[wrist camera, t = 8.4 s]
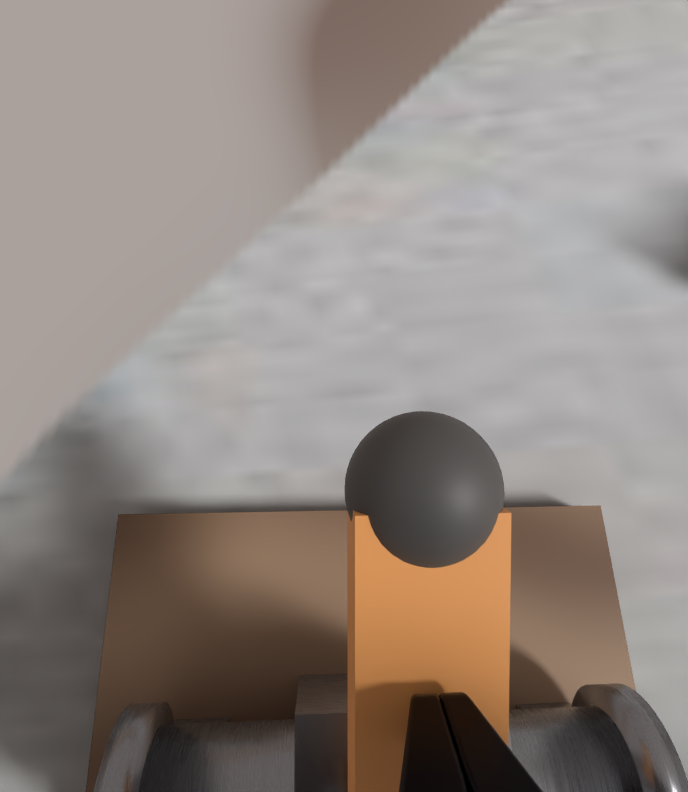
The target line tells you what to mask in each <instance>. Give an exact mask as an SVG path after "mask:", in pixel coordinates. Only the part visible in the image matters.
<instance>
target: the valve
mask: <svg viewBox="0 0 688 792" xmlns="http://www.w3.org/2000/svg"><path fill="white" fill-rule="evenodd" d="M509 748H510V750H511V751H512V752H513V754H514V755H515V756H516V757H517V759H518V760H519V761H520V763H521V764H522V765H523V766H524V768H525V769H526V770H527V772H528V773H529V774H530V775H531V777H532V778H533V779H534V781H535V782H536V783H537V784H538V786H539V787H540V788H541V789H542V791H543V792H688V781H687V778H686V775H685V772H684V769H683V766H682V764H681V761H680V759H679V756H678V754H677V752H676V749H675V747H674V745H673V743H672V741H671V739H670V737H669V735H668V733H667V731H666V729H665V728H664V726H663V724H662V722H661V721H660V719H659V718H658V716H657V715H656V713H655V712H654V710H653V709H652V708H651V707H650V705H649V704H648V703H647V702H646V701H645V700H644V699H643V697H642V696H641V695H639V694H638V693H637V692H636V691H635V690H633V689H632V688H630V687H629V686H626V685H624V684H619V683H612V684H589V685H584V686H582V687H580V688H579V689H578V691H577V692H576V694H575V696H574V698H573V702H572V704H570V703H568V702H557V703H534V704H515V709H514V710H509ZM94 792H348V673H343V674H317V675H300V676H299V684H298V692H297V700H296V708H295V719H288V720H266V721H243V722H230V717H213V718H191V719H174V718H173V713H172V710H171V707H170V705H169V704H168V703H167V702H154V703H132V704H130V705H128V706H127V707H126V708H125V709H124V710H123V711H122V713H121V714H120V716H119V718H118V719H117V721H116V723H115V725H114V727H113V730H112V732H111V734H110V737H109V739H108V742H107V745H106V748H105V751H104V754H103V757H102V760H101V764H100V768H99V771H98V775H97V779H96V783H95V787H94Z"/></svg>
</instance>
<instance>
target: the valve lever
mask: <svg viewBox="0 0 688 792" xmlns="http://www.w3.org/2000/svg"><path fill="white" fill-rule="evenodd" d="M345 501H346V506H347V636H348V792H399V786H400V778H401V771H402V763H403V755H404V747H405V740H406V732H407V724H408V716H409V709H410V701H411V697H412V695H413V694H424V693H434V694H436V695H438V696H439V695H440V694H441V693H448V692H463V693H465V694H467V695H468V696H469V697H470V698H471V700H472V701H473V702H474V704H475V705H476V706H477V707H478V709H479V710H480V711H481V712H482V714H483V715H484V716H485V718H486V719H487V720H488V721H489V723H490V724H491V725H492V727H493V728H494V729H495V730H496V732H497V733H498V734H499V736H500V737H501V738H502V739H503V741H504V742H505V743H506V745H507V746H508V747H509V668H510V590H511V512H510V511H508V510H507V509H505V508H504V507H503V506H504V483H503V478H502V472H501V469H500V466H499V463H498V461H497V459H496V457H495V455H494V453H493V451H492V450H491V448H490V447H489V445H488V444H487V443H486V442H485V440H484V439H483V438H482V437H481V436H480V435H479V434H478V433H477V432H476V431H474V430H473V429H472V428H471V427H469V426H468V425H466V424H465V423H463V422H461V421H459V420H457V419H455V418H453V417H450V416H447V415H444V414H440V413H435V412H424V411H420V412H410V413H404V414H401V415H398V416H395V417H392V418H390V419H388V420H386V421H384V422H382V423H381V424H379V425H378V426H376V427H375V428H374V429H373V430H371V431H370V432H369V433H368V434H367V435H366V436H365V437H364V439H363V440H362V441H361V442H360V444H359V445H358V447H357V448H356V450H355V451H354V453H353V455H352V457H351V459H350V462H349V465H348V468H347V473H346V478H345Z"/></svg>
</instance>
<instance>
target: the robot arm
mask: <svg viewBox="0 0 688 792" xmlns="http://www.w3.org/2000/svg"><path fill="white" fill-rule="evenodd" d="M399 792H543V791H542V789H541V788H540V787H539V786H538V784H537V783H536V782H535V781H534V779H533V778H532V777H531V775H530V774H529V773H528V772H527V770H526V769H525V768H524V766H523V765H522V764H521V763H520V761H519V760H518V759H517V757H516V756H515V755H514V754H513V752H512V751H511V750H510V748H509V747H508V746H507V745H506V743H505V742H504V741H503V739H502V738H501V737H500V736H499V734H498V733H497V732H496V730H495V729H494V728H493V727H492V725H491V724H490V723H489V721H488V720H487V719H486V718H485V716H484V715H483V714H482V712H481V711H480V710H479V709H478V707H477V706H476V705H475V704H474V702H473V701H472V700H471V698H470V697H469V696H468V695H467V694H465V693H463V692H448V693H441V694H440V695H439V696H438V695H436V694H434V693H424V694H413V695H412V697H411V701H410V709H409V716H408V724H407V732H406V740H405V747H404V755H403V763H402V771H401V778H400V786H399Z"/></svg>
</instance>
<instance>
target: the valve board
mask: <svg viewBox="0 0 688 792" xmlns="http://www.w3.org/2000/svg"><path fill="white" fill-rule="evenodd" d="M504 508H505V509H507V510H508V511H510V512H511V590H510V668H509V710H514V709H515V704H534V703H557V702H568V703H570V704H572V702H573V698H574V696H575V694H576V692H577V691H578V689H579V688H580V687H582V686H584V685H589V684H612V683H619V684H624V685H626V686H629V687H630V688H632V689H633V690H635V684H634V679H633V674H632V669H631V663H630V658H629V653H628V648H627V642H626V637H625V632H624V627H623V621H622V616H621V611H620V606H619V600H618V595H617V590H616V585H615V579H614V574H613V569H612V564H611V558H610V553H609V548H608V543H607V537H606V532H605V527H604V522H603V516H602V511H601V506H552V507H504ZM343 673H348V636H347V510H338V511H284V512H230V513H177V514H123V515H118V522H117V531H116V539H115V548H114V556H113V565H112V573H111V582H110V590H109V599H108V607H107V616H106V624H105V633H104V641H103V650H102V658H101V667H100V676H99V684H98V693H97V701H96V710H95V718H94V727H93V735H92V744H91V752H90V761H89V769H88V778H87V786H86V792H94V787H95V783H96V779H97V775H98V771H99V768H100V764H101V760H102V757H103V754H104V751H105V748H106V745H107V742H108V739H109V737H110V734H111V732H112V730H113V727H114V725H115V723H116V721H117V719H118V718H119V716H120V714H121V713H122V711H123V710H124V709H125V708H126V707H127V706H128V705H130V704H132V703H154V702H167V703H168V704H169V705H170V707H171V710H172V713H173V718H174V719H191V718H213V717H230V722H243V721H266V720H288V719H295V708H296V700H297V692H298V684H299V676H300V675H317V674H343ZM635 691H636V690H635Z"/></svg>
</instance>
